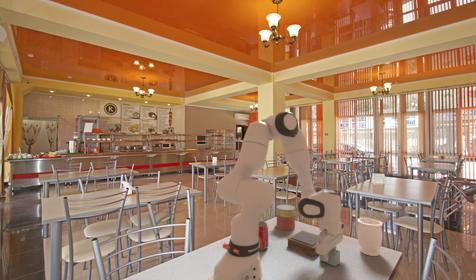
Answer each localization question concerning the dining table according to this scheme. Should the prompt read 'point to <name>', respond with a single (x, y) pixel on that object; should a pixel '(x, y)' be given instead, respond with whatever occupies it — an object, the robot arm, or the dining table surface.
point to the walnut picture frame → (303, 242)
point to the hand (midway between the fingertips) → (329, 257)
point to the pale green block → (332, 257)
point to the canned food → (285, 217)
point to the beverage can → (263, 235)
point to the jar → (369, 236)
